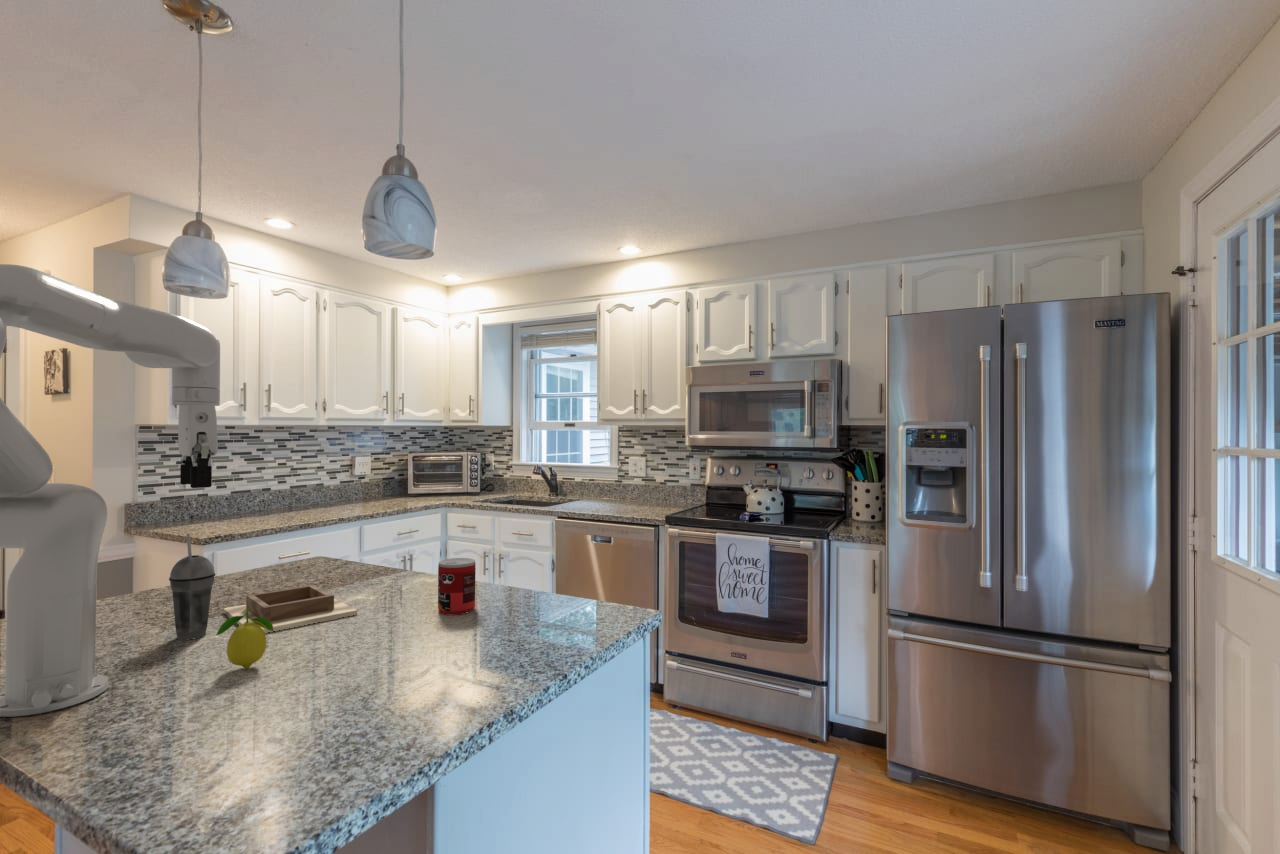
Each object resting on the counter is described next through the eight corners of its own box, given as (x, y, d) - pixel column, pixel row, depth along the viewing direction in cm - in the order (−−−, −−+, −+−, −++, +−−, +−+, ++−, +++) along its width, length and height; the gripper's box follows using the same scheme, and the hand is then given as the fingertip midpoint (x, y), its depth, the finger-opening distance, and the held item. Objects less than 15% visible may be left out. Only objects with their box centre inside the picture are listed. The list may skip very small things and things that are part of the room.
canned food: (435, 607, 137) (436, 559, 137) (472, 604, 140) (472, 556, 140) (440, 617, 130) (440, 566, 130) (477, 612, 133) (478, 562, 133)
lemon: (215, 677, 97) (216, 615, 97) (229, 664, 103) (230, 605, 103) (262, 673, 99) (263, 612, 99) (273, 660, 104) (274, 602, 104)
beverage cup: (223, 631, 120) (225, 530, 120) (193, 643, 112) (195, 536, 113) (190, 629, 120) (191, 529, 121) (157, 642, 113) (159, 535, 114)
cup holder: (357, 614, 131) (357, 596, 131) (250, 636, 117) (251, 615, 117) (321, 595, 146) (321, 579, 146) (223, 612, 132) (223, 594, 132)
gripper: (230, 397, 114) (229, 487, 114) (209, 399, 126) (208, 481, 126) (180, 395, 109) (180, 490, 109) (164, 398, 121) (163, 483, 121)
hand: (195, 485), depth 117 cm, fingers open, 9 cm apart
